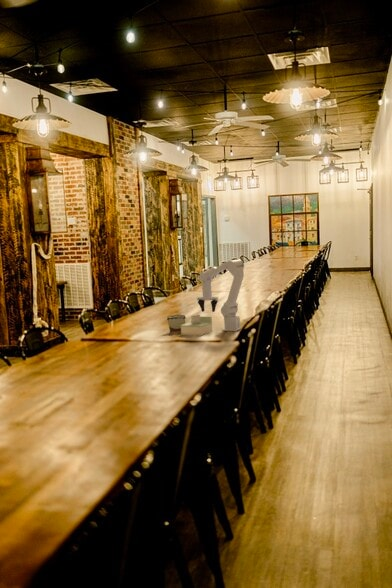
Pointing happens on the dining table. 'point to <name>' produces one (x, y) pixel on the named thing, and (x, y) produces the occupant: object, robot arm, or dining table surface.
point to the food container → (176, 322)
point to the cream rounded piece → (195, 319)
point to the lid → (203, 322)
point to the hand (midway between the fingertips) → (208, 311)
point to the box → (196, 330)
